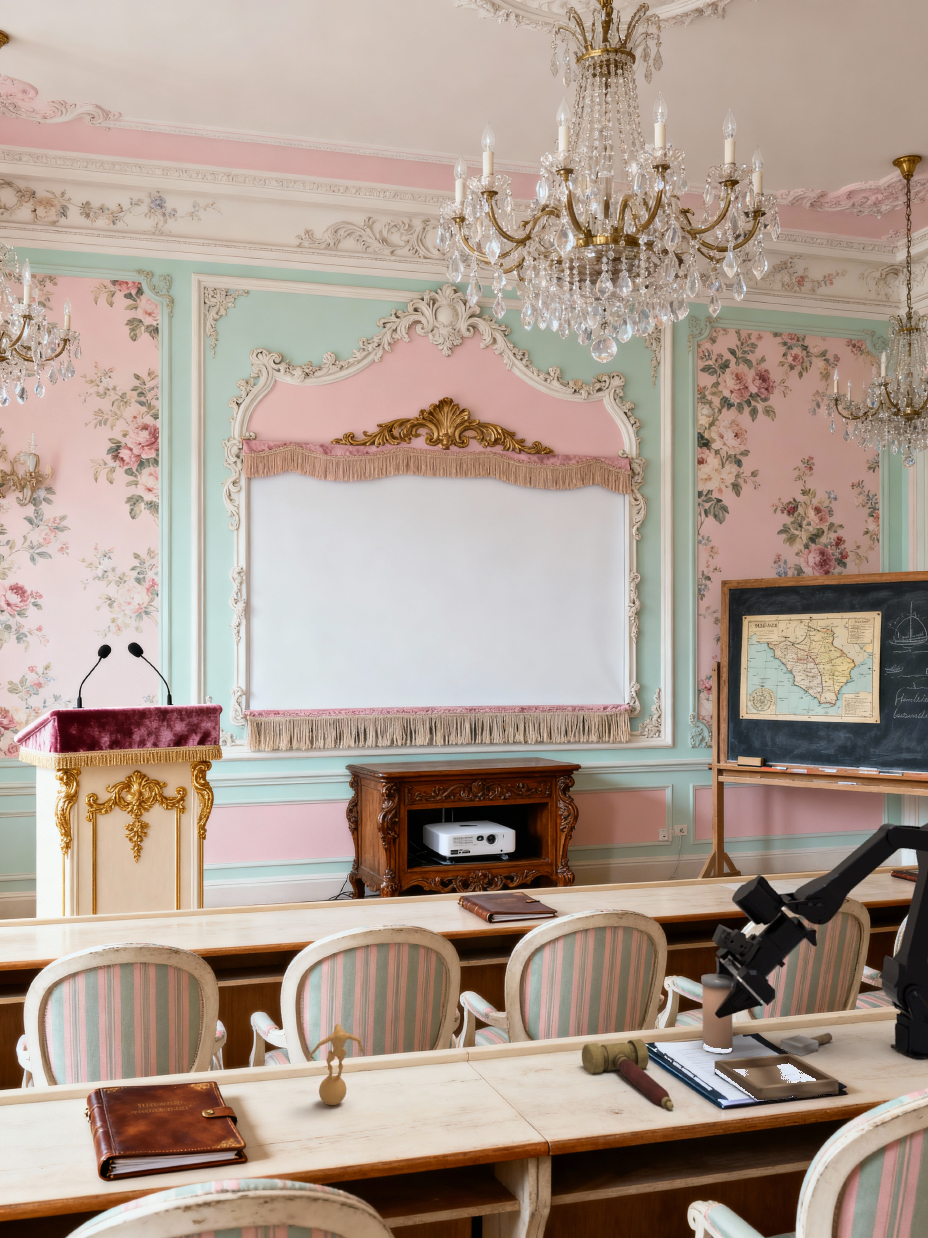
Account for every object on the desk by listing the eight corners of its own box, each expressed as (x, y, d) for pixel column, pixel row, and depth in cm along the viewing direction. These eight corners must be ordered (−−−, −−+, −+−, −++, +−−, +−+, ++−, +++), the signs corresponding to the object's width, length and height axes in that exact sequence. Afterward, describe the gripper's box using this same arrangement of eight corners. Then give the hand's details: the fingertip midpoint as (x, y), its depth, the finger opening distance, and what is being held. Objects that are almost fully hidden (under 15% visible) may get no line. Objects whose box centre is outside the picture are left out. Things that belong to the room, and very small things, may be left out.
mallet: (819, 1038, 187) (819, 1029, 187) (838, 1044, 184) (838, 1035, 184) (780, 1049, 180) (780, 1040, 180) (800, 1056, 177) (800, 1046, 177)
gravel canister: (723, 1043, 183) (722, 973, 184) (739, 1053, 178) (739, 981, 179) (695, 1046, 182) (695, 975, 183) (711, 1055, 176) (711, 983, 178)
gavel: (702, 1088, 154) (641, 1095, 151) (701, 1119, 154) (640, 1127, 151) (636, 1035, 174) (581, 1040, 171) (635, 1062, 174) (580, 1068, 171)
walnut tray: (790, 1066, 172) (790, 1053, 172) (838, 1094, 160) (838, 1080, 160) (714, 1073, 168) (714, 1061, 168) (758, 1102, 156) (758, 1088, 156)
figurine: (355, 1096, 156) (357, 1013, 157) (368, 1110, 151) (369, 1025, 152) (301, 1103, 153) (303, 1019, 154) (311, 1118, 147) (313, 1031, 148)
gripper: (727, 900, 191) (667, 960, 190) (755, 921, 172) (688, 988, 172) (771, 945, 190) (710, 1006, 190) (803, 971, 172) (736, 1039, 171)
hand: (710, 1008), depth 180 cm, fingers open, 9 cm apart
